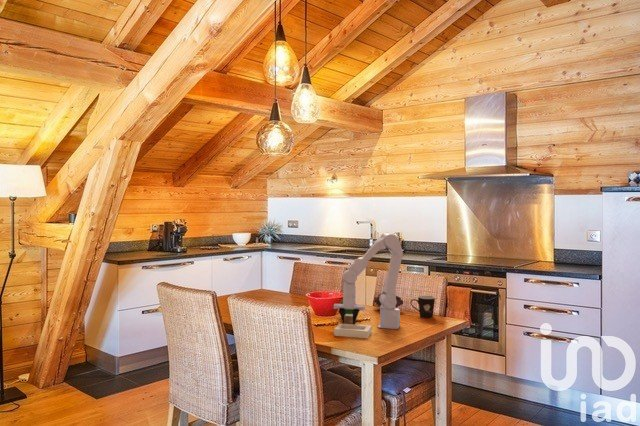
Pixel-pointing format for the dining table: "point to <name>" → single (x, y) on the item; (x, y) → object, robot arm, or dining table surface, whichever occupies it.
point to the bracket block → (348, 319)
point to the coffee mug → (425, 306)
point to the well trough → (353, 330)
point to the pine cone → (398, 299)
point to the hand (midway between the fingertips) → (349, 324)
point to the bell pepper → (348, 311)
